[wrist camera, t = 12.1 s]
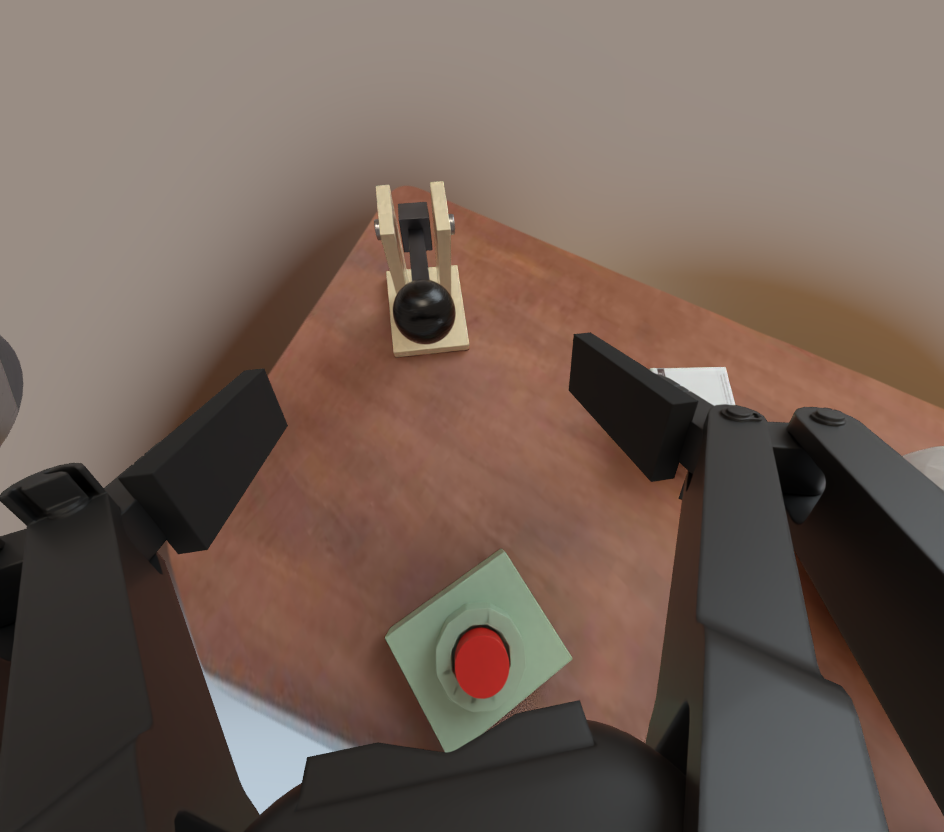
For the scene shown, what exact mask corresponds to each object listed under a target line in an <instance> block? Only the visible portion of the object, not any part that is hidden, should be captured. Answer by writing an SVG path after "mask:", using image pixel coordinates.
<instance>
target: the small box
mask: <svg viewBox="0 0 944 832" xmlns="http://www.w3.org/2000/svg"><path fill="white" fill-rule="evenodd" d="M649 370H650V371H652V372H654V373H656V374H659V375H662V376H665V377H667V378H670V379H672V380H673V381H675V382H677V383H678V384H680V386H683V387H685V388H686V389H688V390H689V391H691V392H693V393H695V394H696V395H698V396H699V397H701V398H703V399H704V400H706V401H708V402H709V403H711V404H712V405H714V406H715V405H721V404H729V405H735V402H734V398H733V394H732V390H731V387H730V383H729V379H728V375H727V371H726V368H725V367H704V368H651V369H649Z"/></svg>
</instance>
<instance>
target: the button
mask: <svg viewBox="0 0 944 832" xmlns="http://www.w3.org/2000/svg"><path fill="white" fill-rule="evenodd" d="M455 674H456V678H457V681H458V683H459V685H460V687H461V688H462V689H463V690H464V691H465V692H466V693H467V694H468V695H470V696H472V697H474V698H479V699H485V698H489V697H492V696H494V695H495V694H497V693H498V692H499V691H500V690H501V689H502V688H503V686H504V685H505V683H506V681H507V678H508V675H509V658H508V655H507V652H506V649H505V646H504V644H503V642H502V640H501V638H500V637H499V636H498V635H497V634H496V633H495V632H494V631H492V630H490V629H488V628H483V627H478V628H474V629H471V630H469V631H468V632H466V633H465V634H464V635H463V636H462V637H461V639H460V640H459V642H458V644H457V647H456V651H455Z"/></svg>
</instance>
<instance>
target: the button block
mask: <svg viewBox="0 0 944 832" xmlns="http://www.w3.org/2000/svg"><path fill="white" fill-rule="evenodd" d="M478 627H483V628H488V629H490V630H492V631H494V632H495V633H496V634H497V635H498V636H499V637H500V638H501V640H502V642H503V644H504V646H505V649H506V652H507V655H508V658H509V675H508V678H507V681H506V683H505V685H504V686H503V688H502V689H501V690H500V691H499V692H498V693H497V694H495V695H494V696H492V697H489V698H485V699H479V698H474V697H472V696H470V695H468V694H467V693H466V692H465V691H464V690H463V689H462V688H461V687H460V685H459V683H458V681H457V678H456V674H455V651H456V647H457V644H458V642H459V640H460V639H461V637H462V636H463V635H464V634H465V633H466V632H468V631H469V630H471V629H474V628H478ZM385 639H386V641H387V643H388V645H389V647H390V649H391V651H392V652H393V654H394V656H395V658H396V660H397V662H398V664H399V666H400V668H401V670H402V671H403V673H404V675H405V677H406V679H407V681H408V683H409V685H410V687H411V689H412V690H413V692H414V694H415V696H416V698H417V700H418V702H419V704H420V706H421V708H422V709H423V711H424V713H425V715H426V717H427V719H428V721H429V723H430V725H431V727H432V728H433V730H434V732H435V734H436V736H437V738H438V740H439V742H440V744H441V746H442V747H443V749H444V751H445V752H451V751H454V750H456V749H458V748H460V747H461V746H463V745H465V744H466V743H468V742H470V741H471V740H473V739H475V738H476V737H478V736H480V735H481V734H483V733H484V732H485V731H486V730H488V729H489V728H490V727H491V726H492V725H494V724H495V723H496V722H497V721H499V720H500V719H501V718H502V717H503V716H505V715H506V714H507V713H508V712H509V711H511V710H512V709H513V708H514V707H515V706H517V705H518V704H519V703H520V702H521V701H523V700H524V699H525V698H526V697H527V696H529V695H530V694H531V693H532V692H533V691H535V690H536V689H537V688H538V687H539V686H541V685H542V684H543V683H544V682H545V681H547V680H548V679H549V678H550V677H551V676H553V675H554V674H555V673H556V672H557V671H559V670H560V669H561V668H562V667H563V666H565V665H566V664H567V663H568V662H569V661H571V660H572V657H571V655H570V654H569V652H568V650H567V649H566V647H565V646H564V644H563V643H562V641H561V639H560V638H559V636H558V635H557V633H556V631H555V630H554V628H553V627H552V625H551V624H550V622H549V620H548V619H547V617H546V616H545V614H544V612H543V611H542V609H541V608H540V606H539V605H538V603H537V601H536V600H535V598H534V597H533V595H532V593H531V592H530V590H529V589H528V587H527V586H526V584H525V582H524V581H523V579H522V578H521V576H520V574H519V573H518V571H517V570H516V568H515V567H514V565H513V563H512V562H511V560H510V559H509V557H508V555H507V554H506V552H505V551H504V550H503V549H502V548H501V549H499V550H498V551H496V552H495V553H494V554H492V555H491V556H490V557H488V558H487V559H485V560H484V561H483V562H481V563H480V564H478V565H477V566H476V567H474V568H473V569H471V570H470V571H469V572H467V573H466V574H464V575H463V576H462V577H460V578H459V579H457V580H456V581H455V582H453V583H452V584H451V585H449V586H448V587H446V588H445V589H444V590H442V591H441V592H439V593H438V594H437V595H435V596H434V597H432V598H431V599H430V600H428V601H427V602H425V603H424V604H423V605H421V606H420V607H418V608H417V609H416V610H414V611H413V612H412V613H410V614H409V615H407V616H406V617H405V618H403V619H402V620H400V621H399V622H398V623H396V624H395V625H393V626H392V627H391V628H390V629H389V631H388V633H387V635H386V637H385Z"/></svg>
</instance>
